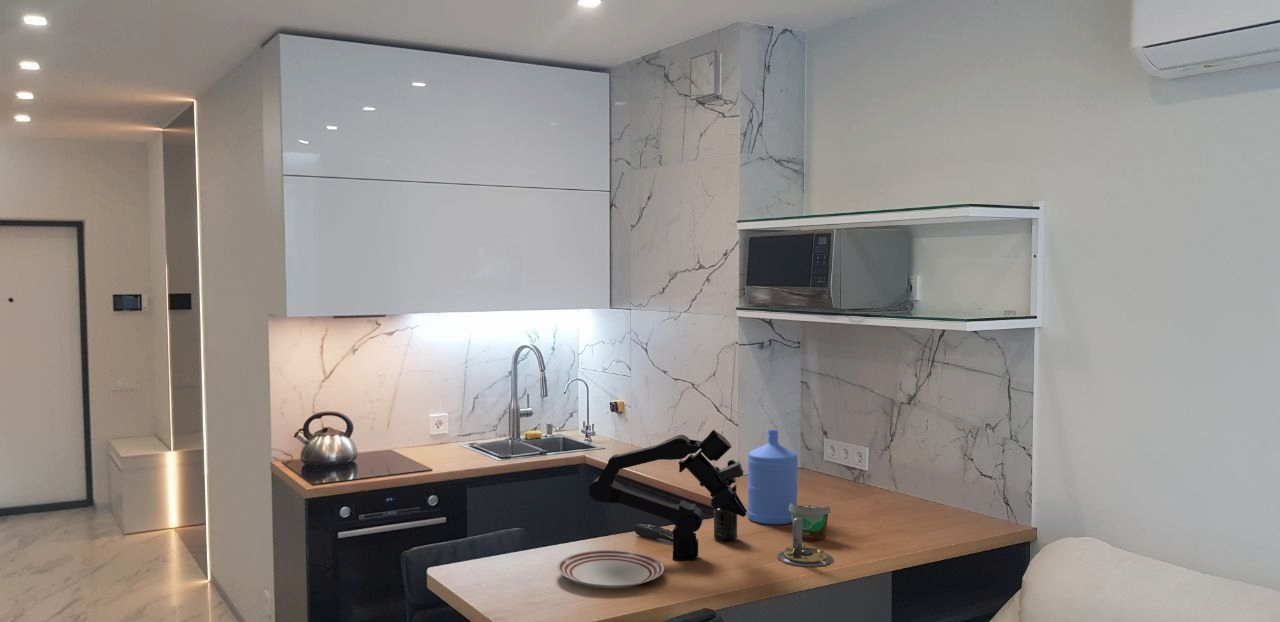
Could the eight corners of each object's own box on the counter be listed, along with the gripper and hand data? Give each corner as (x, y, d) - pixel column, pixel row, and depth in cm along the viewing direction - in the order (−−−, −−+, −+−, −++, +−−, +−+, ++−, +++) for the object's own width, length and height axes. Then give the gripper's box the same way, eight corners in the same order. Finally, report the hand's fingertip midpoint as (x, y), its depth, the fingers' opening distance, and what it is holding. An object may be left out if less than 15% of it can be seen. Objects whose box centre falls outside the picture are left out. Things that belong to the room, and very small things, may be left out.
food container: (784, 540, 286) (784, 506, 285) (788, 534, 292) (789, 501, 291) (826, 544, 282) (827, 510, 281) (830, 539, 287) (830, 505, 287)
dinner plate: (685, 576, 253) (685, 564, 253) (612, 603, 233) (612, 590, 232) (608, 555, 271) (608, 543, 271) (534, 578, 251) (534, 565, 251)
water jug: (800, 526, 301) (801, 435, 300) (748, 525, 302) (749, 435, 301) (794, 513, 317) (795, 427, 316) (745, 512, 318) (746, 426, 316)
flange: (780, 566, 261) (780, 558, 261) (774, 550, 276) (775, 541, 276) (837, 567, 260) (837, 559, 260) (828, 550, 275) (828, 542, 275)
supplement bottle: (722, 534, 291) (722, 494, 291) (741, 538, 287) (742, 498, 286) (708, 539, 286) (709, 499, 285) (728, 544, 282) (728, 502, 281)
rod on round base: (796, 548, 276) (797, 507, 276) (834, 555, 269) (834, 514, 269) (775, 557, 267) (776, 516, 267) (814, 566, 260) (815, 523, 259)
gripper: (724, 459, 257) (766, 502, 256) (728, 446, 275) (767, 486, 274) (693, 487, 258) (735, 531, 257) (699, 472, 277) (738, 513, 276)
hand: (745, 514), depth 266 cm, fingers open, 3 cm apart
